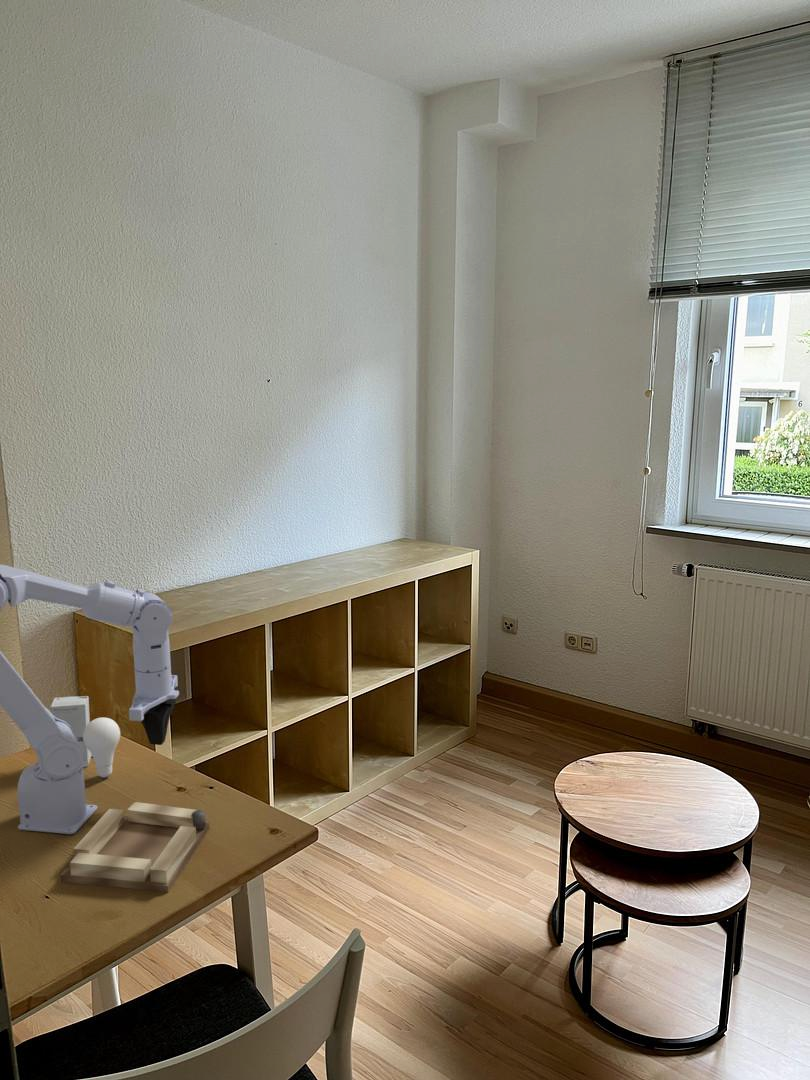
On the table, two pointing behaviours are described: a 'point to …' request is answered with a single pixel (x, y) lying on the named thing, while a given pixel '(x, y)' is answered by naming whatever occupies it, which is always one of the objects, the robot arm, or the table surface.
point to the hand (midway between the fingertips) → (157, 742)
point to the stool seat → (132, 854)
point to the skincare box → (74, 718)
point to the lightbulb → (102, 743)
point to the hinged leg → (166, 815)
